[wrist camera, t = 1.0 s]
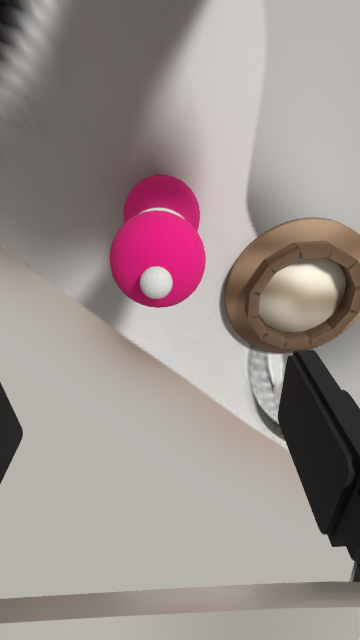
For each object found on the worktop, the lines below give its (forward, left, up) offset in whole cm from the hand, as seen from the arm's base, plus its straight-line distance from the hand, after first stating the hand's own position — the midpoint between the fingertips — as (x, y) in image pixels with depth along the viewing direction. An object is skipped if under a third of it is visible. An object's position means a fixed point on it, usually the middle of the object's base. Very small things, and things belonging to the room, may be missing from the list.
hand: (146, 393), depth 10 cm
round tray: (+11, +16, -27) cm, 33 cm away
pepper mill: (0, 0, -27) cm, 27 cm away
